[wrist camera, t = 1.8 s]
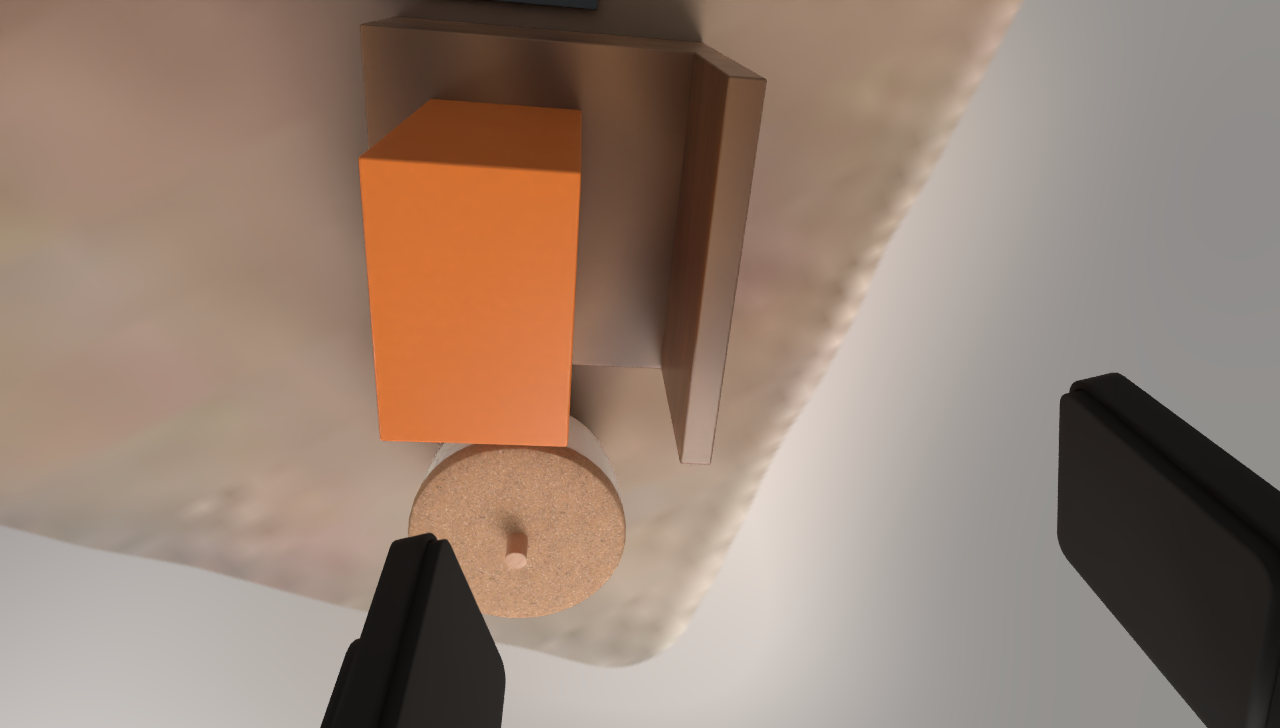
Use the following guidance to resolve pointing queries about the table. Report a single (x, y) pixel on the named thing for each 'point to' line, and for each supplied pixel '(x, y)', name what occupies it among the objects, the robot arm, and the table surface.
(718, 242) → the wooden toy chair
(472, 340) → the block
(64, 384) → the table surface
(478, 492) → the trinket box
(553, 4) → the mat
